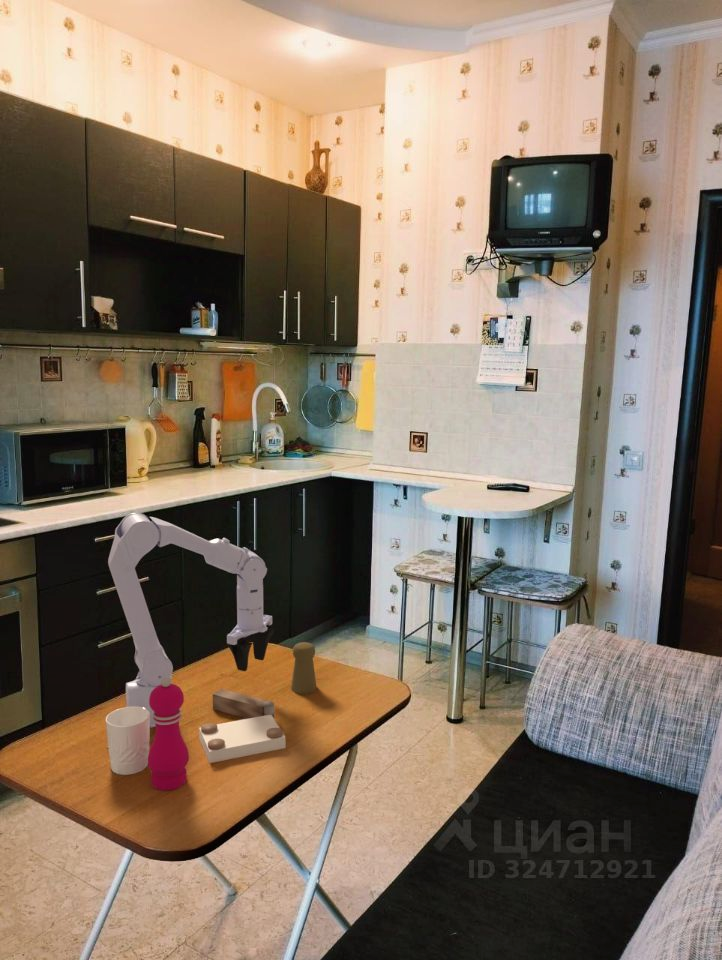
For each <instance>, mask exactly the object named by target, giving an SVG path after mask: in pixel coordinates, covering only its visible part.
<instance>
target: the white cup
mask: <svg viewBox="0 0 722 960" xmlns="http://www.w3.org/2000/svg"><path fill="white" fill-rule="evenodd" d="M105 726H106V727H105V728H106V737H107V738H106V739H107V747H108V755H109V761H110V768H111V771H112V772H113V773H114V774H117V775H121V776H129V775H135V774H138V773H140V772H142V771H144V770H145V769H147V767H148V755H149V751H150V741H151V740H150V735H151V734H150V732H151V730H150V712H149V711H148V710H147V709H145V708H142V707H126V706H125V707H121V708H117V709H115V710H113V711H110V713H108V714H107V715H106V717H105Z"/></svg>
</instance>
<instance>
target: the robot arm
mask: <svg viewBox="0 0 722 960" xmlns="http://www.w3.org/2000/svg"><path fill="white" fill-rule="evenodd" d="M149 518H150V519H151V520H150V519H149ZM230 542H231V541H230V540H229V539H228V538H226V537H223V538H222V539H221V538H214V539H210V540H208V539H205V538H203V537H201V536H198V535H196V534H195V533H193V532H190V531H188V530H186V529H184V528H182V527H179V526H177V525H176V524H173V523H170V522H168V521H165V520H162V519H160V518H157V517H153V516H149V517H148V516H147V515H145V514H144V513H141V512H131V513H129V514H127V515H126V516H125V517H123V518H122V520H121V521H120V523H119V524H118V525H117V527H116V528H115V530H114V538H113V541H112V545H111V549H110V551H109V556H108V558H107V559H108V561H107V563H108V564H107V565H108V567H109V571H110V573H111V576H112V579H113V583H114V586H115V588H116V591H117V594H118V597H119V600H120V604H121V607H122V610H123V612H124V615H125V619H126V622H127V625H128V627H129V630H130V633H131V636H132V639H133V644H134V647H135V653H134V663H135V664H136V666H137V667H138V669H139V671H138V673H137V674H136V675H137V676H136V678H135V679H134V680H132V681H129V682H126V683H125V701H126V702H125V703H126V704H125V705H126V706H125V707H142V708H145V709H147V710H148V711H149V712H150V728H151V729H152V728H156V725H155V723H154V722H153V715H152V714H153V710H152V709H151V707H150V705H149V697H150V694H151V692H152V691H153V689H154V688H156V687H157V686H159V685H161V680H162V678H164V677H169V678H170V679H171V684H173V681H172V679H173V678H172V675H173V671H174V667H173V663H172V661H171V660H170V659H169V657H168V656H167V654H166V651H165V649H164V647H163V646H162V645H161V643H160V641H159V638H158V636H157V631H156V630H155V626H154V624H153V621H152V617H151V613H150V611H149V607H148V605H147V601H146V599H145V595H144V593H143V589H142V587H141V583H140V580H139V578H138V573H137V571H136V567H137V565H138V564H139V561H141V559H142V558H143V557H144V556H145V555H146V554H148V553H149V552H151V550H153V549H154V548H155V547H156V546H158V547H159V548H162V547H165V546H167V545H170V544H172V545H175V546H178V547H180V548H183V549H185V550H188V551H190V552H191V551H192V552H194V553H196V554H200V555H202V556H203V557H204V560H205V563H206V564H208V565H210V566H213V567H215V568H217V569H219V570H223V571H226V572H227V573H231V574H234V575H235V574H236V583H237V584H236V611H237V612H236V614H237V615H236V617H237V619H236V621H237V622H236V623H237V624H236V626H235V627H233V629H232V630H231V631H230V633H227V635H226V645H227V647H228V648H229V650H230V651H231V653H232V656H233V659H234V662H235V666H236V669H237V671H242V672H247V671H248V666H249V665H248V664H249V655H250V651H251V649H252V648H253V649H252V650H253V655H254V656H253V657H254V659H255V660H258V661H264V659H265V658H266V657H265V656H266V653H267V648H268V645H269V643H270V640H271V637H272V636H273V634H274V631H275V630H274V628H273V627H269V626H272V625H273V615H268V614H264V580H263V579H264V578H265V576H266V575H267V572H268V568H267V567H266V563H265V561H264V559H262V557H260V556H259V555H257V554H256V553H255V552H253V551H251V549H248V548H247V547H245V546H244V547H239V546H236V545H235V544H232V543H230ZM249 636H250V637H251V640H252V642H250V641H247V640H246V639H245V638H246V637H249ZM251 647H252V648H251Z"/></svg>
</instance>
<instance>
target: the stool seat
mask: <svg viewBox="0 0 722 960" xmlns="http://www.w3.org/2000/svg"><path fill="white" fill-rule="evenodd" d="M198 732H199V733H198V737H199V741H200V743H201V745H202V747H203V750H204V753H205V755H206V757H207V760H208V763H209V764H212V763H216V762H222V761H227V760H231V759H239V758H242V757H246V756H251V755H257V754H262V753H267V752H272V751H278V750H283V749H286V745H287V744H286V735H285V734H284V730H283V729H282V728H280V725H279V724H278V723H277V721H276V719H275V717H274V718H273V717H272V715H265V716H260V717H254V718H249V719H246V718H243V719H238V720H233V721H228V722H222V723H221V722H220V723H218V724H215V722H214V723H213V722H210V723H209V722H208V723H205V724H202V725H201V726H200V727H198Z"/></svg>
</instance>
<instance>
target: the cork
mask: <svg viewBox="0 0 722 960" xmlns="http://www.w3.org/2000/svg"><path fill="white" fill-rule="evenodd" d="M292 655H293V658H294V662H293V663H294V664H293V665H294V666H293V672H292V679H291V688H290V690H291V691H292V692H293V693H295V694H298V695H309V694H313V693H314V692H316V691H317V688H318V687H317V680H316V672H315V665H314V657H315V656H316V649H315V646H314V644H312V643H310V642H307V641H304V642H303V641H301V642H298V643H296V644H294V646H293V648H292Z"/></svg>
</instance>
